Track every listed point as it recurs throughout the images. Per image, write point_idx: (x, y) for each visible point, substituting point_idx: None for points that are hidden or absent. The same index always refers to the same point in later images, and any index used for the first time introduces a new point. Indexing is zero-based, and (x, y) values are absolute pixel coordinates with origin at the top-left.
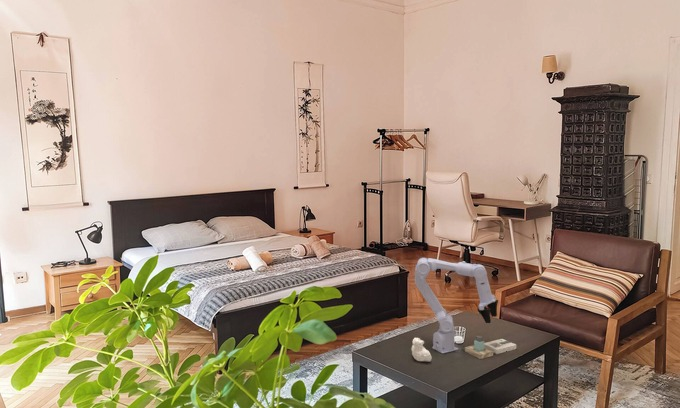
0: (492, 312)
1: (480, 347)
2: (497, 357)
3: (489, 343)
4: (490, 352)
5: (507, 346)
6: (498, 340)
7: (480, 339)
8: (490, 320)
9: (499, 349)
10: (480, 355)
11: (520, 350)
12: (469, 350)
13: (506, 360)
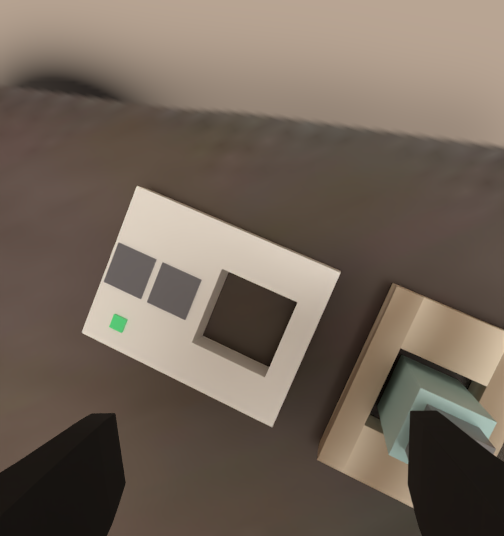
0: (85, 525)
1: (460, 394)
2: (404, 240)
3: (240, 380)
4: (426, 298)
5: (215, 229)
6: (134, 342)
7: (466, 429)
8: (431, 424)
9: (313, 260)
10: None
11: (161, 153)
12: None
13: (421, 156)
